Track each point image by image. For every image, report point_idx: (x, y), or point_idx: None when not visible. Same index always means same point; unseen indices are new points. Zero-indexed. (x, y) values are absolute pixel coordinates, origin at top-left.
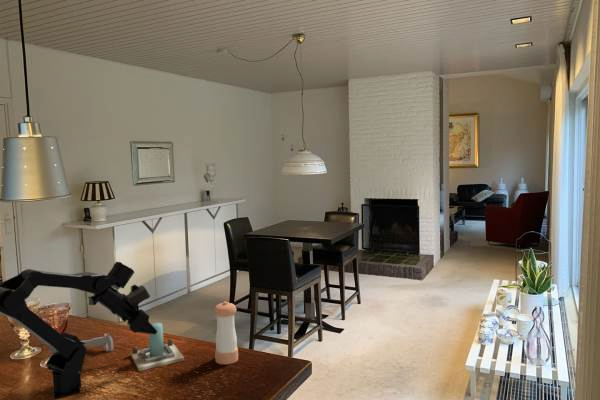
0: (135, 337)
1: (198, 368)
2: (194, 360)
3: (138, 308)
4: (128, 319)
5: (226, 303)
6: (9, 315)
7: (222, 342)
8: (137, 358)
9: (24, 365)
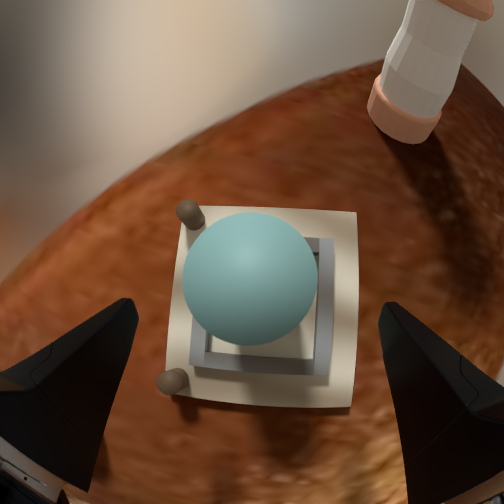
0: (42, 307)
1: (430, 201)
2: (369, 187)
3: (6, 396)
4: (88, 472)
5: None
6: None
7: (451, 91)
8: (248, 390)
9: None
